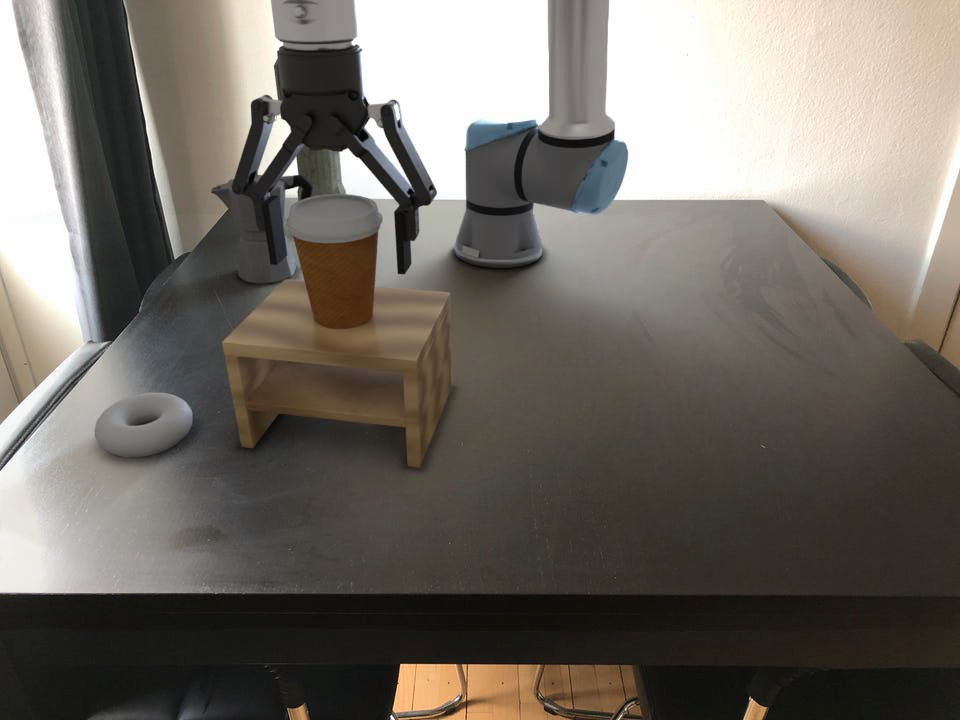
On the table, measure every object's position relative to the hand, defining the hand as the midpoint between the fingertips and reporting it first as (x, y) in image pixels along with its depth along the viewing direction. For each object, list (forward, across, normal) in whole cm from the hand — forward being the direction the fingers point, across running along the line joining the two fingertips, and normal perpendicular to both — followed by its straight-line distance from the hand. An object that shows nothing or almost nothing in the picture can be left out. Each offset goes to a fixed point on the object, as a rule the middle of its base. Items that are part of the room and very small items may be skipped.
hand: (341, 264), depth 77 cm
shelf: (+19, 0, 0) cm, 19 cm away
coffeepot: (+19, -26, +38) cm, 50 cm away
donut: (+19, -21, -8) cm, 30 cm away
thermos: (+20, -26, +62) cm, 70 cm away
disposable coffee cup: (+6, 0, 0) cm, 6 cm away
